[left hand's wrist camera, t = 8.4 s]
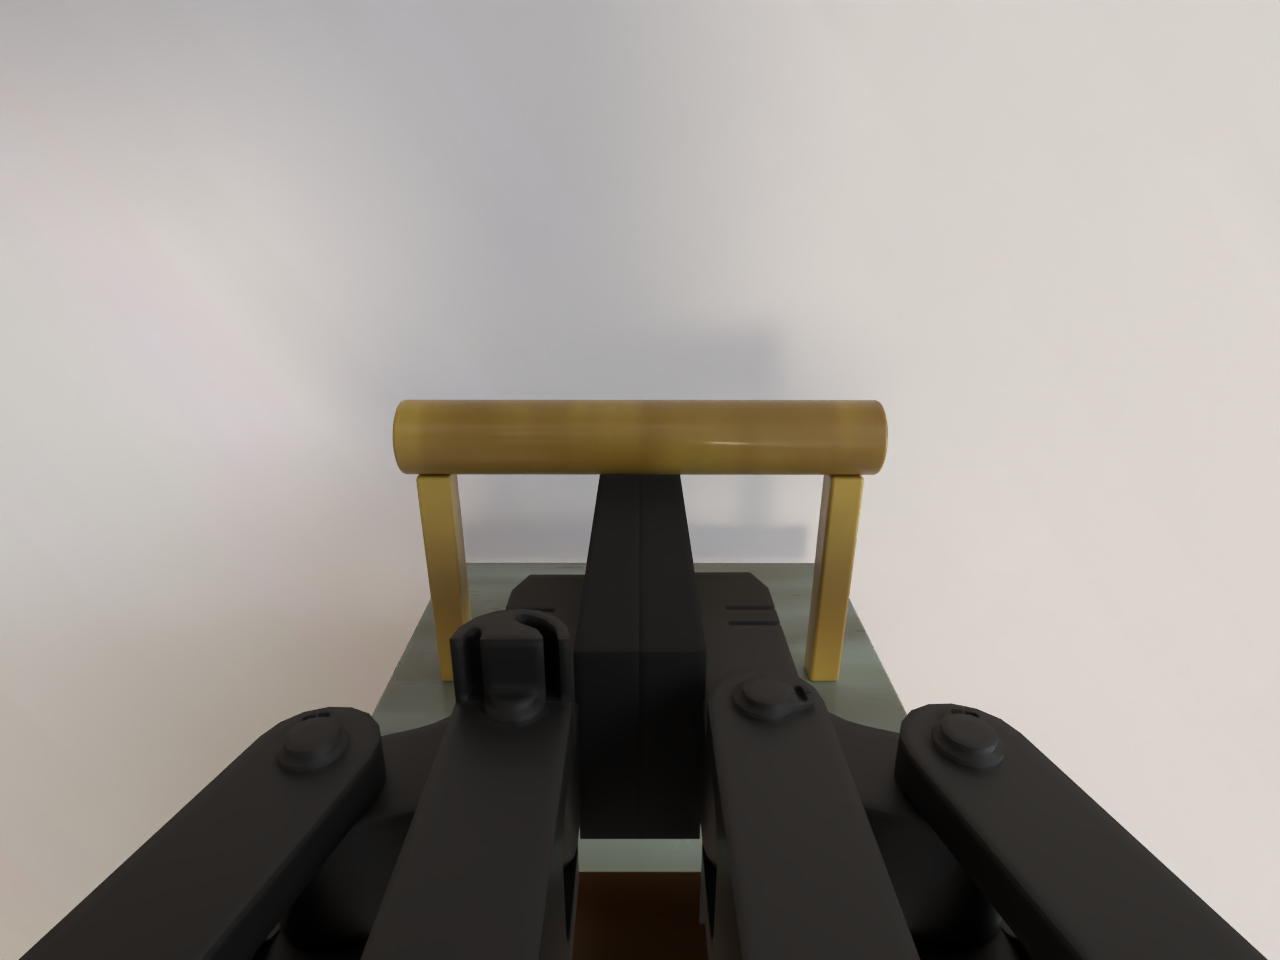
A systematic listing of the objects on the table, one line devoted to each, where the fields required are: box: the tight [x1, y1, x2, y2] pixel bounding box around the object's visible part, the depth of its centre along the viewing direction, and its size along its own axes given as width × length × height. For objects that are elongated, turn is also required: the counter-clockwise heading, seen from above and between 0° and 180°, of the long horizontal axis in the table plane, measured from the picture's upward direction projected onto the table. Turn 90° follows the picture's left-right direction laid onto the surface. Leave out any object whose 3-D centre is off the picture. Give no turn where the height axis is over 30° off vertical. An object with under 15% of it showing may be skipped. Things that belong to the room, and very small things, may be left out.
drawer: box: [372, 400, 907, 960], centre depth 18 cm, size 25×10×8 cm, turn 0°
